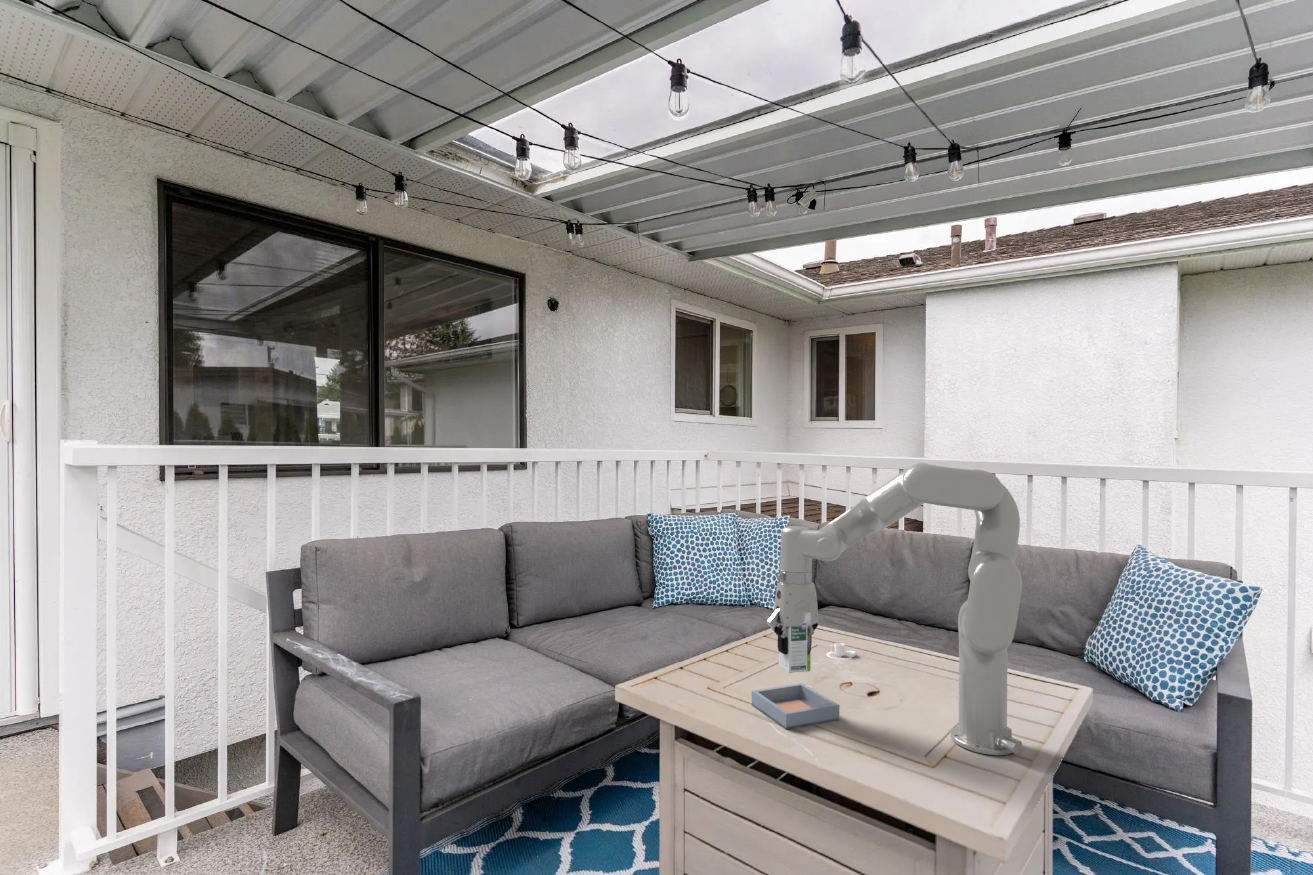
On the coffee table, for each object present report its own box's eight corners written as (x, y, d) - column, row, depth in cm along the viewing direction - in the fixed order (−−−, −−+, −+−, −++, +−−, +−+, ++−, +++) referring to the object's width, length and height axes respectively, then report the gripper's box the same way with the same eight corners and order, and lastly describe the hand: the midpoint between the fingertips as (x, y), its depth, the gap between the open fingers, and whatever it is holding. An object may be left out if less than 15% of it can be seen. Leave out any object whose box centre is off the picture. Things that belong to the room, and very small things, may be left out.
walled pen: (839, 719, 151) (839, 704, 152) (785, 729, 146) (786, 714, 146) (801, 696, 165) (801, 683, 165) (751, 704, 160) (751, 690, 160)
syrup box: (789, 673, 152) (790, 612, 152) (778, 665, 158) (779, 606, 158) (810, 671, 154) (811, 611, 154) (798, 663, 159) (799, 605, 160)
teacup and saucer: (858, 656, 200) (858, 643, 200) (851, 663, 193) (851, 649, 193) (830, 651, 205) (830, 638, 205) (822, 658, 198) (822, 644, 198)
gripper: (774, 582, 149) (772, 660, 149) (834, 578, 156) (833, 652, 156) (757, 576, 156) (755, 650, 156) (815, 572, 163) (814, 643, 163)
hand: (794, 650), depth 156 cm, fingers closed on syrup box, 6 cm apart
